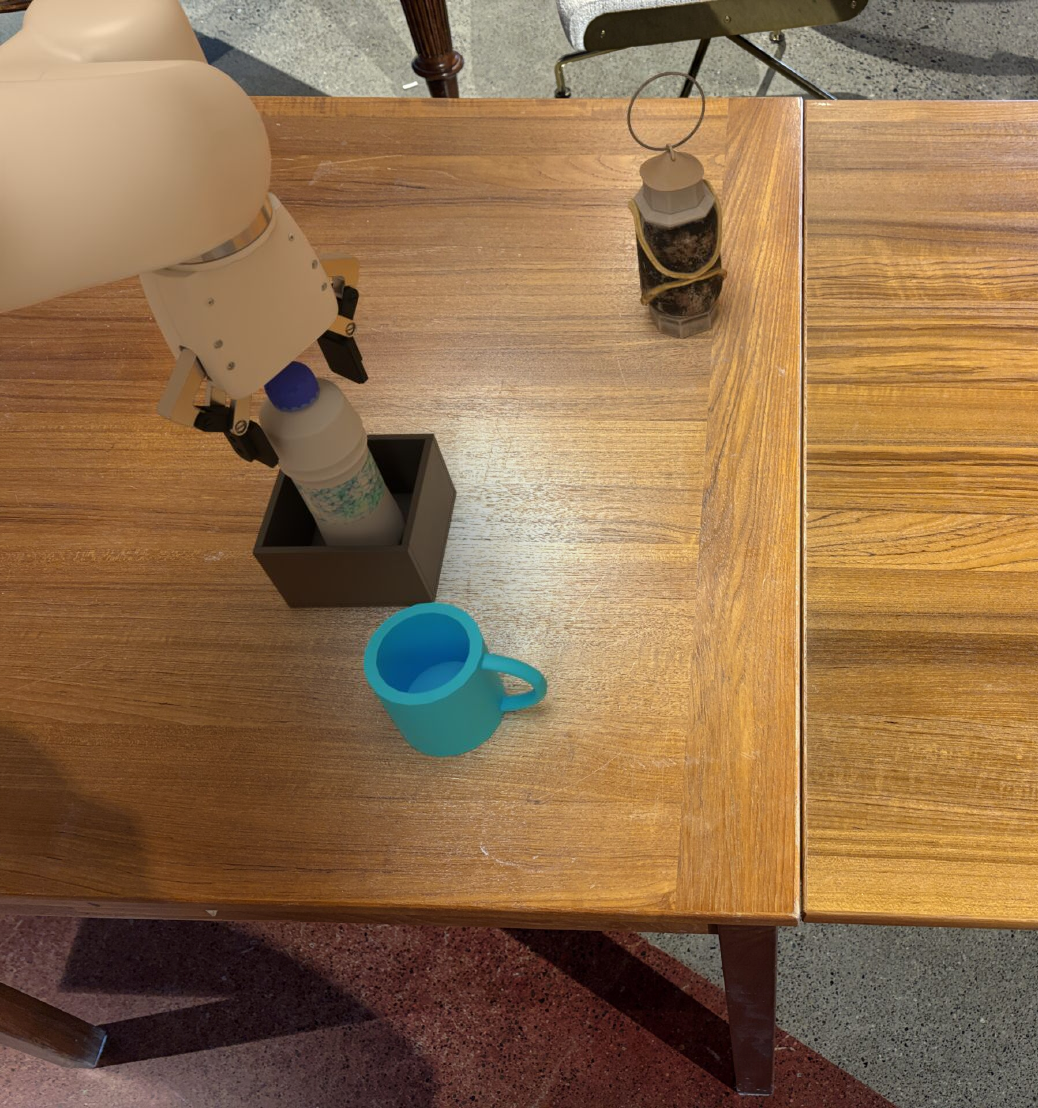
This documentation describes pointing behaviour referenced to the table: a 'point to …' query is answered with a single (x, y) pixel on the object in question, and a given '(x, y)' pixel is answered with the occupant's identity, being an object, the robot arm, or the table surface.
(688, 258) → the lantern
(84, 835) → the table surface
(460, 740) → the mug
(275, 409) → the bottle
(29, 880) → the table surface
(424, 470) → the bin
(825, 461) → the table surface
